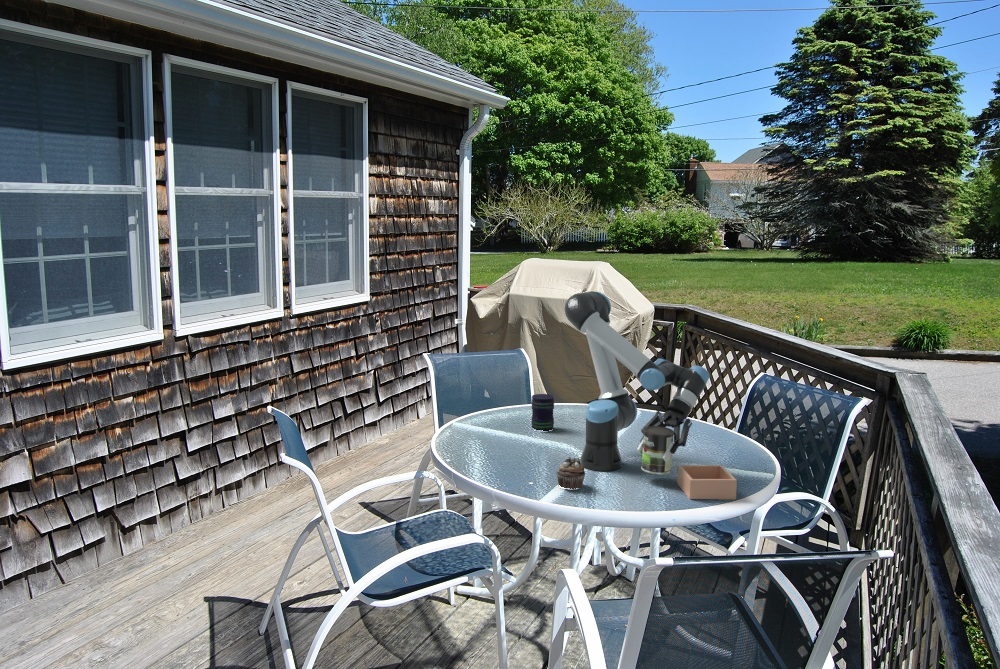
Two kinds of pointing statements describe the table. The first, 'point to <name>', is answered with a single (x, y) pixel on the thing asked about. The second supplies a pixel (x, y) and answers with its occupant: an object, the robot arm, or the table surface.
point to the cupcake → (571, 473)
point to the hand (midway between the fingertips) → (651, 455)
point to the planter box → (706, 482)
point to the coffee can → (656, 449)
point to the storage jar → (542, 412)
